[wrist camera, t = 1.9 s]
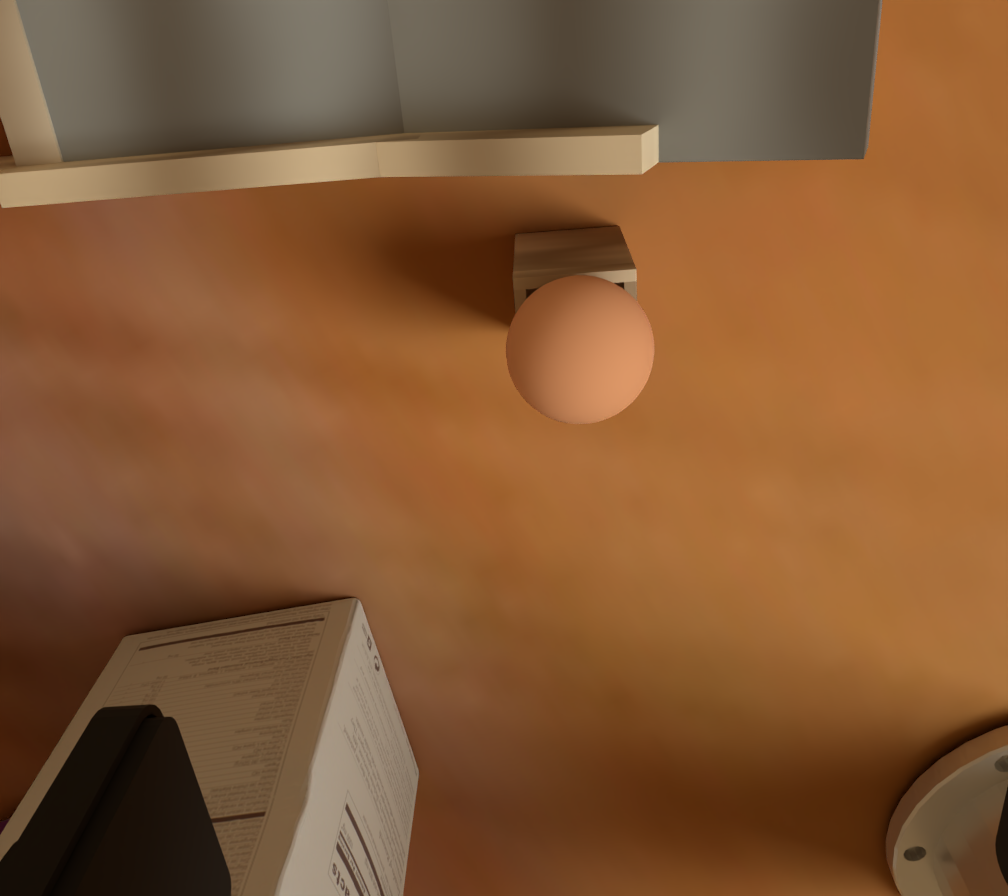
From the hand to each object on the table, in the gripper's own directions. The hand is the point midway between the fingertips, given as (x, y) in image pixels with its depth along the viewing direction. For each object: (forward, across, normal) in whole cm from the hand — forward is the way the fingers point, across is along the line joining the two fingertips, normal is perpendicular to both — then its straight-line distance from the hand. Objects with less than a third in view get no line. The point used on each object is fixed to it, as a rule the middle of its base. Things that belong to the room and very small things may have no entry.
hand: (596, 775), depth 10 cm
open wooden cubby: (+18, 0, 0) cm, 19 cm away
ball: (+13, 0, 0) cm, 13 cm away
